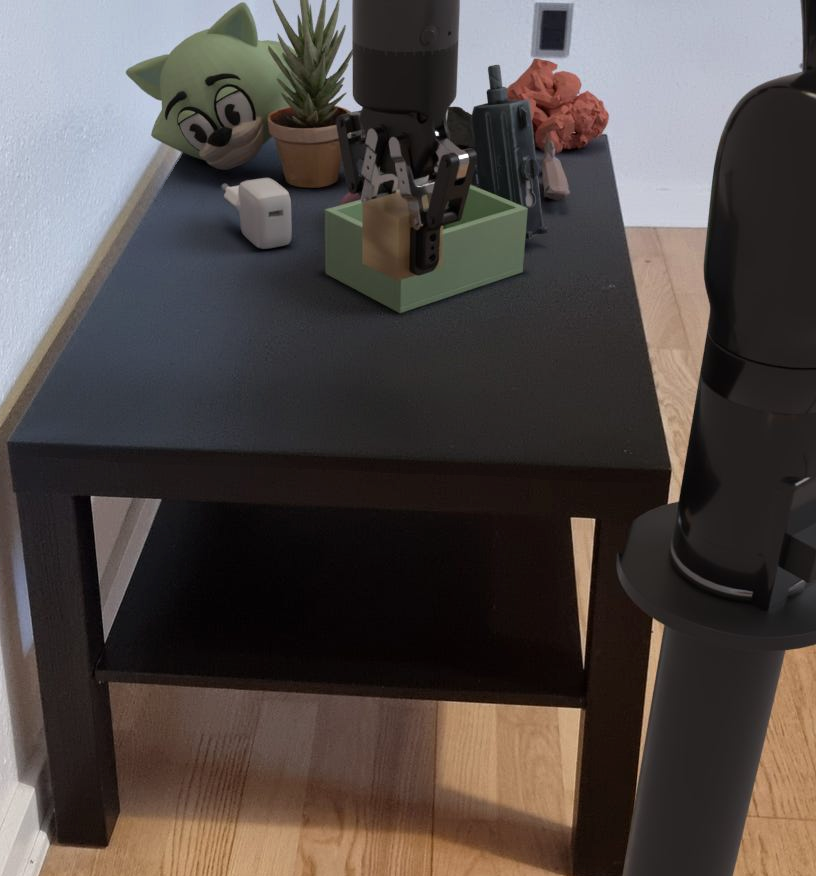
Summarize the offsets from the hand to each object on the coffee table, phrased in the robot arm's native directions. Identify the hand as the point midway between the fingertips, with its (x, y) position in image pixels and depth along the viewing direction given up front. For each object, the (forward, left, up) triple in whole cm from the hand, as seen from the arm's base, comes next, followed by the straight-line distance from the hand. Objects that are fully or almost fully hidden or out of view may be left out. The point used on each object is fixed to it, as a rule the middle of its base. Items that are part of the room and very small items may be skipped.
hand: (401, 261), depth 104 cm
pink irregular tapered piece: (+30, -21, -12) cm, 39 cm away
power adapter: (+37, -11, -12) cm, 41 cm away
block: (0, 0, 0) cm, 0 cm away
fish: (+27, -44, -12) cm, 53 cm away
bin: (+18, -18, -12) cm, 28 cm away
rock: (+44, -45, -12) cm, 64 cm away
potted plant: (+46, -25, -12) cm, 54 cm away
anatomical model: (+40, -59, -6) cm, 72 cm away
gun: (+23, -31, -12) cm, 41 cm away
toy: (+56, -24, -10) cm, 62 cm away
